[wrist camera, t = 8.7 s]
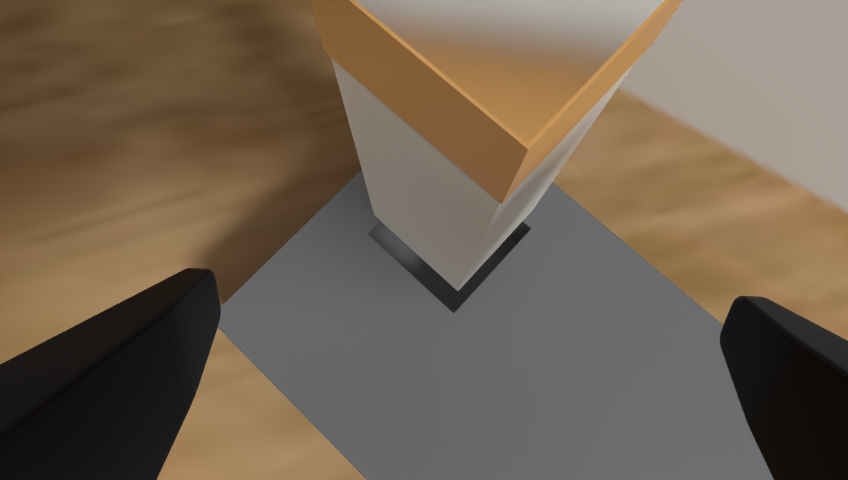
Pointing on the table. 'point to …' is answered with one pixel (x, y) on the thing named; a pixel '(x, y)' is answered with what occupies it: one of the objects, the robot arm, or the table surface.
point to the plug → (475, 106)
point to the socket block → (494, 354)
